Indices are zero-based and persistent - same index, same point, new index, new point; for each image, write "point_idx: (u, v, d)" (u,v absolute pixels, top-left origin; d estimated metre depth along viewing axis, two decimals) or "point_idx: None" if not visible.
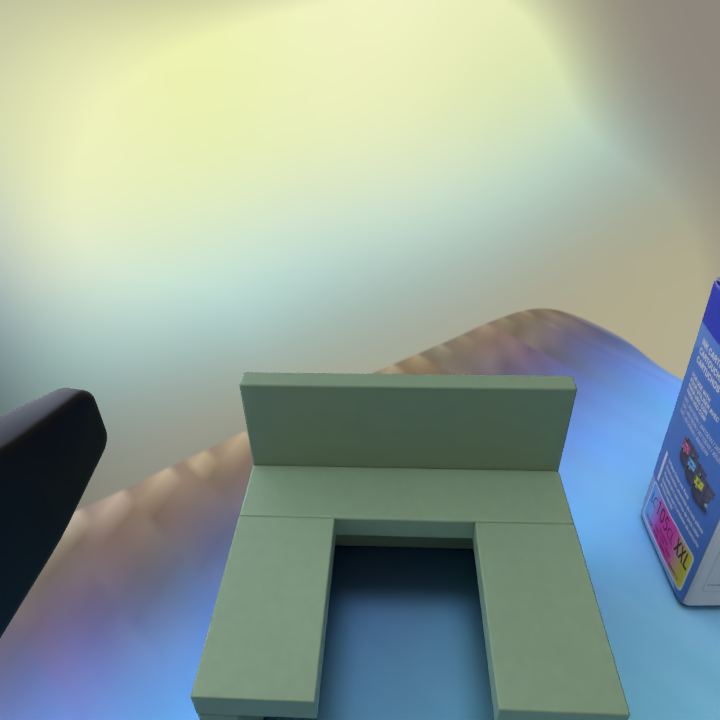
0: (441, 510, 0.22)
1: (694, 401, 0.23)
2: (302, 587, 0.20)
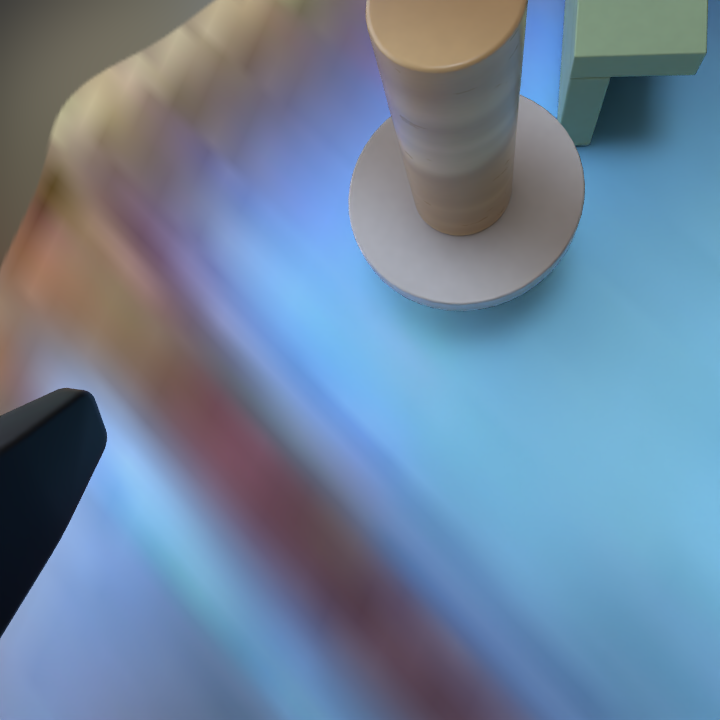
0: None
1: None
2: None
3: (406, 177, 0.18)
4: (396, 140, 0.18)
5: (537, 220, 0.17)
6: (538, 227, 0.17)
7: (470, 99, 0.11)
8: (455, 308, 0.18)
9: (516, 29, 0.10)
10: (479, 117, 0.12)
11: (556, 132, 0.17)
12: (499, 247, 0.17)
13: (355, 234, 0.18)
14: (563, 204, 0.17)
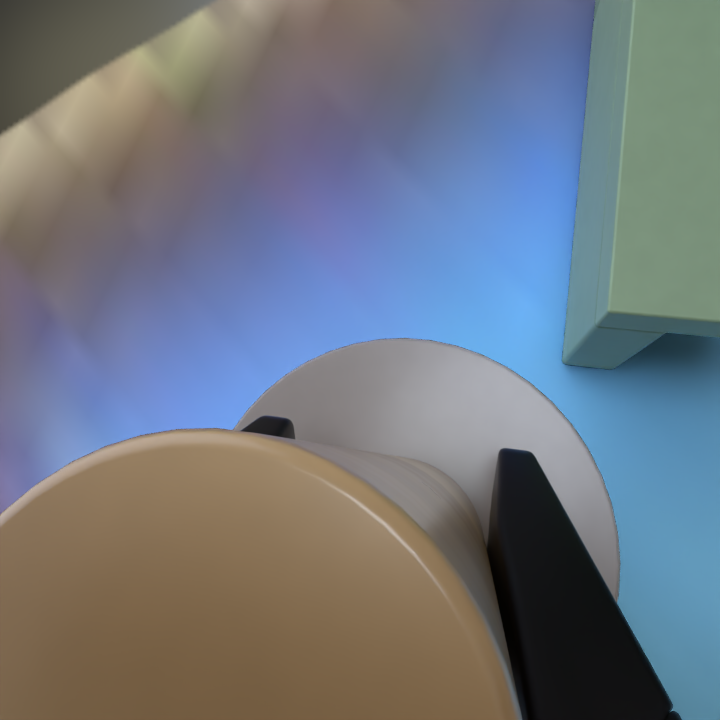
0: None
1: None
2: None
3: None
4: None
5: None
6: None
7: None
8: None
9: None
10: None
11: (570, 451, 0.09)
12: None
13: None
14: None
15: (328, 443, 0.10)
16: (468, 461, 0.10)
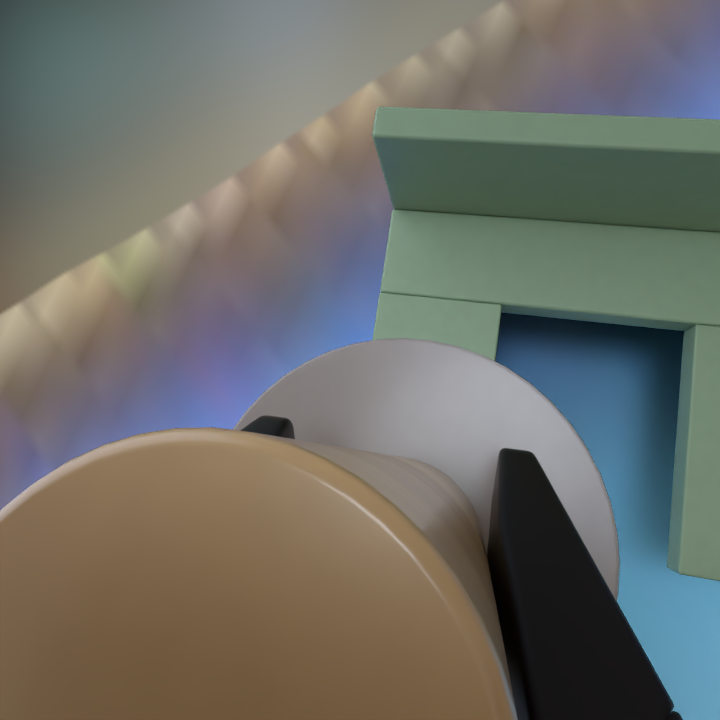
0: (650, 301, 0.16)
1: None
2: None
3: None
4: None
5: None
6: None
7: None
8: None
9: None
10: None
11: (569, 450, 0.10)
12: None
13: None
14: None
15: (327, 443, 0.10)
16: (467, 461, 0.10)
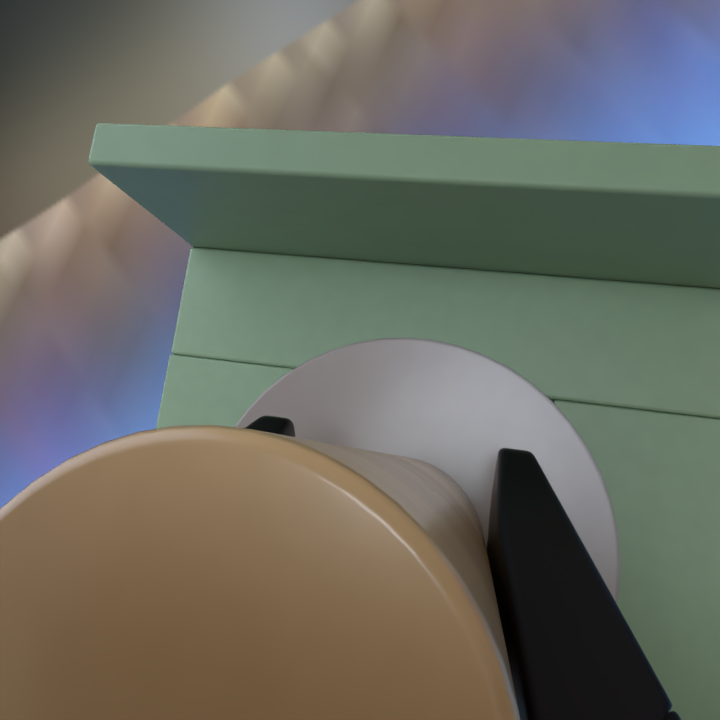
0: None
1: None
2: None
3: None
4: None
5: None
6: None
7: None
8: None
9: None
10: None
11: (569, 451, 0.09)
12: None
13: None
14: None
15: (327, 442, 0.10)
16: (468, 460, 0.10)
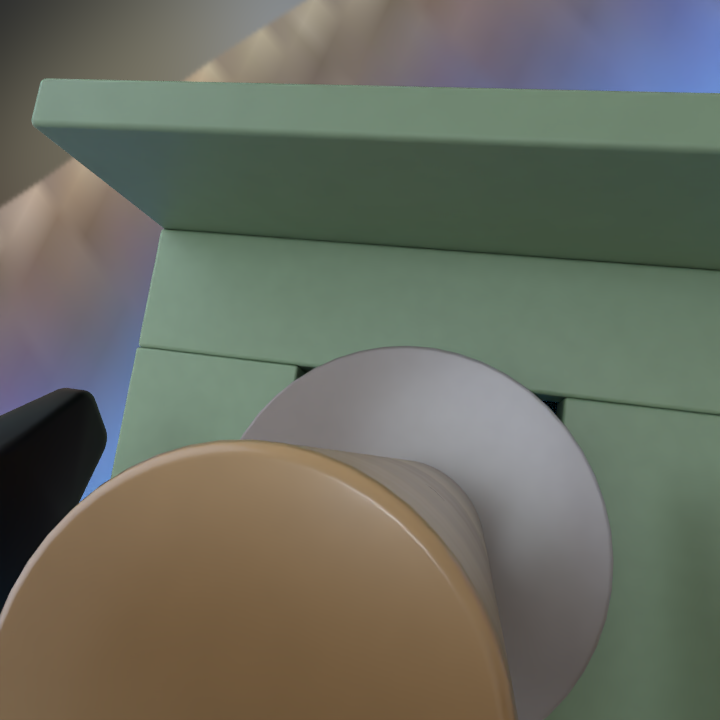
0: (501, 363, 0.11)
1: None
2: None
3: None
4: (294, 432, 0.11)
5: (528, 622, 0.10)
6: (529, 636, 0.10)
7: None
8: None
9: None
10: None
11: (565, 454, 0.10)
12: None
13: None
14: (573, 597, 0.10)
15: (334, 445, 0.11)
16: (469, 464, 0.10)
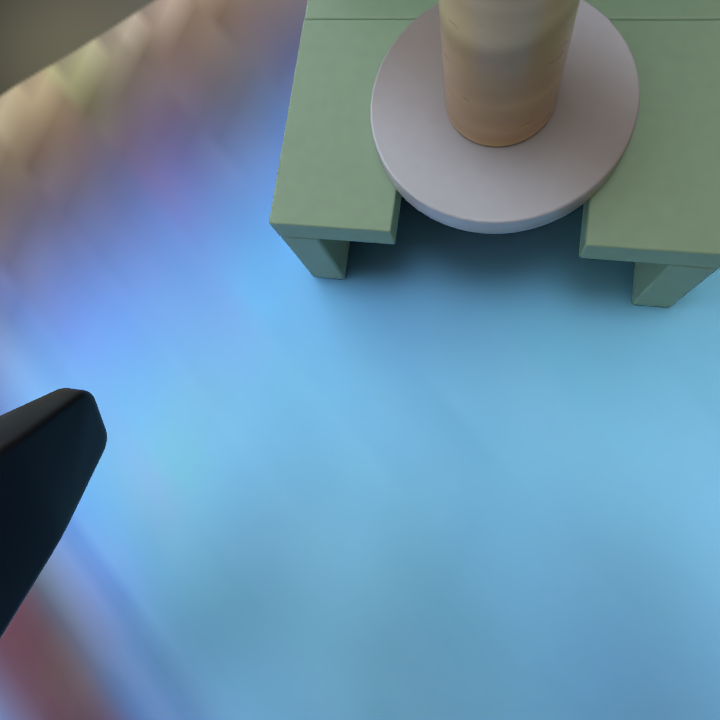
0: None
1: None
2: None
3: (437, 82, 0.16)
4: (426, 41, 0.16)
5: (586, 131, 0.15)
6: (586, 138, 0.15)
7: None
8: (488, 230, 0.16)
9: None
10: None
11: (608, 33, 0.15)
12: (541, 160, 0.15)
13: (377, 144, 0.16)
14: (614, 114, 0.15)
15: None
16: None
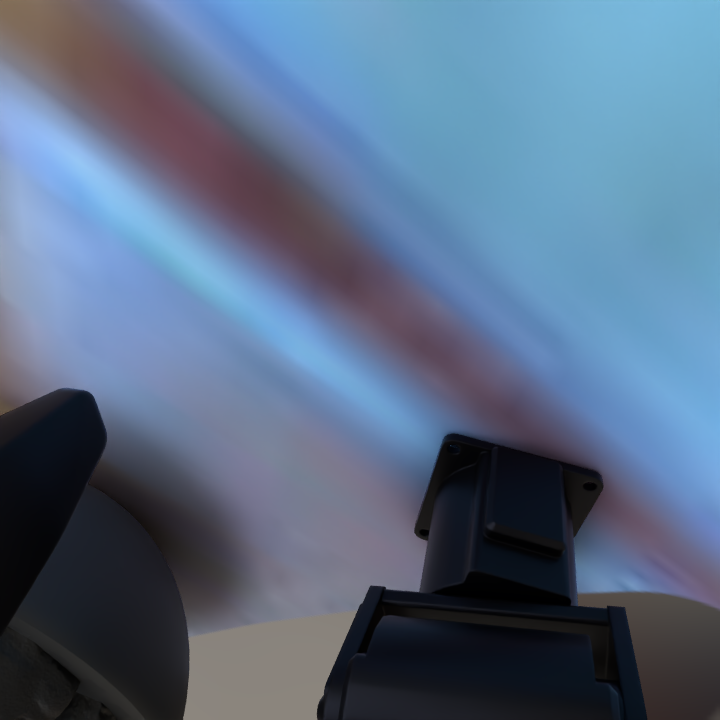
0: None
1: None
2: None
3: None
4: None
5: None
6: None
7: None
8: None
9: None
10: None
11: None
12: None
13: None
14: None
15: None
16: None
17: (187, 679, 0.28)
